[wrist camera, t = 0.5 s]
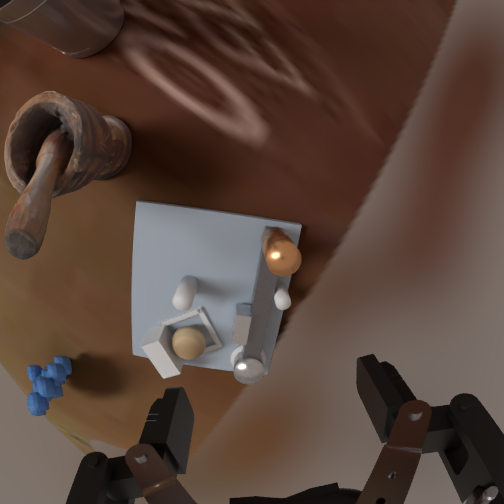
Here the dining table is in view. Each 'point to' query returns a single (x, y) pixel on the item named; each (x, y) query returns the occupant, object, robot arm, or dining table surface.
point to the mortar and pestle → (56, 160)
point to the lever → (262, 302)
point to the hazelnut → (188, 342)
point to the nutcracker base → (198, 281)
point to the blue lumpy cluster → (47, 383)
